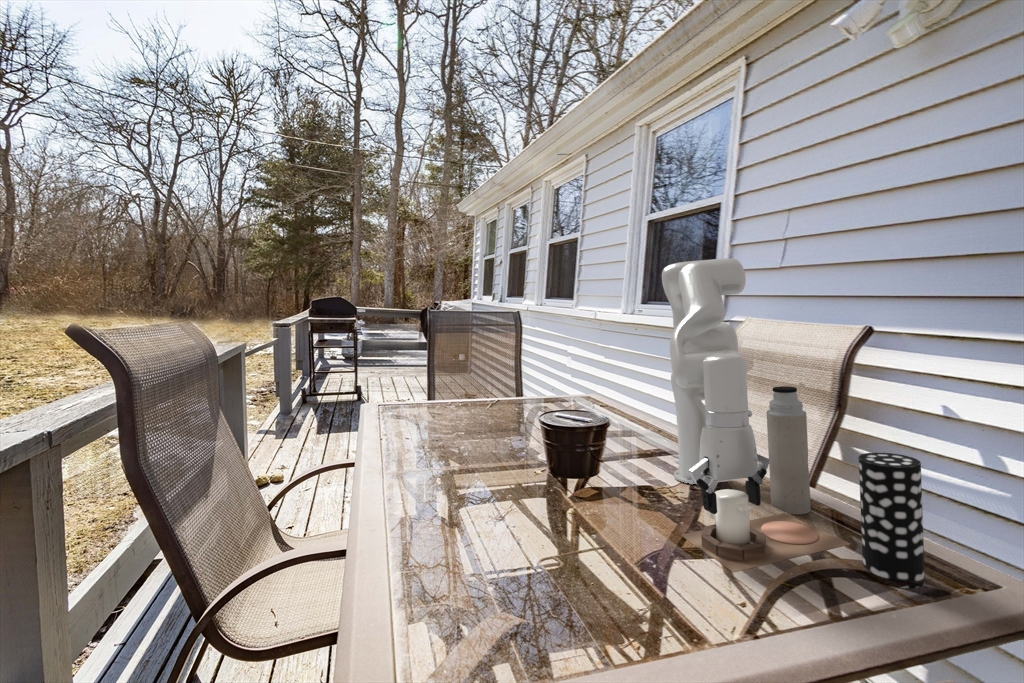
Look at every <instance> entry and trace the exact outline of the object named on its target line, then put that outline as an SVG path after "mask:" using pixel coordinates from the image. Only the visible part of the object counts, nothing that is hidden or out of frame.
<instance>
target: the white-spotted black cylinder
mask: <svg viewBox="0 0 1024 683" xmlns="http://www.w3.org/2000/svg"><path fill="white" fill-rule="evenodd" d="M858 472H859V473H858V479H859V498H860V499H859V500H860V502H859V503H860V522H861V523H860V525H861V530H860V531H861V552H862V553H861V554H862V565H863V567H864V568H865V569H866V570H867V571H868V572H869V573H872V574H874V575H875V576H878V577H881V578H884V579H888V580H891V581H894V582H895V581H897V582H902V583H903V582H904V583H905V582H906V583H911V584H908V585H904V586H900V587H899V589H906V588H907V589H909V588H910V589H911V588H912V589H917V588H918V589H919V588H921V587H923V586H924V585H925V582H926V581H925V580H924V578H925V575H926V574H925V553H924V552H925V548H924V547H925V546H924V520H923V518H924V517H923V494H922V491H923V490H922V489H923V487H922V486H923V485H922V462H921V461H920V460H919V459H918V458H914V457H913V456H912V457H911V456H908V455H904V454H900V453H899V454H898V453H893V452H892V453H891V452H866V453H862V454H859V455H858ZM921 580H922V581H921ZM913 582H915V583H913ZM907 589H906V590H907ZM910 589H909V590H910Z"/></svg>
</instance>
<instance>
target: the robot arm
mask: <svg viewBox="0 0 1024 683" xmlns="http://www.w3.org/2000/svg"><path fill="white" fill-rule="evenodd" d="M746 281H747V279H746V272H745V269H744V267H743V265H742V262H740V261H739V260H738V259H736V258H727V257H726V258H714V259H713V258H711V259H702V260H692V261H691V260H690V261H682V262H681V261H680V262H675V263H671V264H669V265H667V266H665V267H664V268H663V269H662V271H661V284H662V287H663V291H664V294H665V296H666V298H667V300H668V302H669V304H670V307H671V312H672V325H673V332H672V335H671V337H670V340H669V341H670V342H669V355H670V364H671V376H670V383H671V389H672V394H673V397H674V404H675V412H676V413H675V414H676V415H675V416H676V426H677V427H676V428H677V443H678V444H677V445H678V458H675V459H674V462H675V463H676V464H678V469H676V470H675V471H674V472H673V476H675V477H674V479H675V478H676V479H675V480H676V481H678V480H679V481H678V482H680V481H681V483H683V482H684V483H683V484H687V483H689V484H688V485H693V484H696V485H695V486H697V487H698V489H699V490H701V494H702V495H701V496H702V506H703V509H704V510H705V511H706V512H707V511H709V512H710V513H712V514H716V513H717V500H716V493H715V492H714V491H715V489H716V487H717V485H718V484H719V483H721V482H729V481H734V480H740V479H741V480H742V479H746V480H745V483H744V484H745V493H746V494H747V495H748V502H749V504H751V505H752V504H753V505H755V506H758V507H759V506H761V503H762V502H761V486H760V485H762V484H763V482H764V481H763V479H764V478H765V476H766V474H767V472H768V471H767V469H768V468H769V462H770V460H769V457H766V456H764V455H762V454H759V453H758V451H757V444H756V438H755V435H754V430H753V428H752V425H751V424H750V418H751V417H752V416H753V412H752V411H751V409H750V410H749V401H748V400H749V397H748V382H747V373H748V372H747V371H748V368H747V367H748V366H747V362H746V359H745V358H744V357H743V356H742V354H741V353H740V352H739V343H738V337H737V332H736V330H735V328H734V327H733V326H732V325H730V324H728V323H722V322H724V320H725V317H726V309H725V305H724V300H723V296H730V295H739V294H741V293H742V292H743V290H744V289H745V286H746ZM703 401H704V403H703Z"/></svg>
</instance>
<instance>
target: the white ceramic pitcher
mask: <svg viewBox="0 0 1024 683" xmlns="http://www.w3.org/2000/svg"><path fill="white" fill-rule="evenodd" d="M714 493H716V500H717V513H716V514H712V513H710V512H709V511H707V510H706V517H708V518H709V519H712V520H715V524H716V534H717V541H719V542H721V543H725V544H732V545H738V546H742V545H746V544H751V540H750V521H749V520H750V511H752V510H753V505H752V504H751V503H750V502H748V495H747V494H746V492H745V491H741V490H739V489H738V490H737V489H732V488H731V489H729V488H728V489H727V488H726V489H720V490H716V491H715V492H714Z"/></svg>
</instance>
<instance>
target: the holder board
mask: <svg viewBox="0 0 1024 683" xmlns="http://www.w3.org/2000/svg"><path fill="white" fill-rule="evenodd" d="M749 521H750V540H751V544H746V545H742V546H738V545H732V544H725V543H721V542H719V541H717V534H716V523H715V524H709V525H705V526H704V528H703V529H701V530H696V531H691V532H687V533H681V534H680V536H681V537H683V538H684V539H685V540H687V541H688V542H690V543H691V544H693V545H694V546H695V547H697V548H698V549H700V550H701V551H702V552H704V553H705V554H707V555H708V556H710V558H712V559H714V560H715V561H717V562H719V564H721V566H724V567H725V568H727V569H728V570H730V571H731V572H733V573H737V572H742V571H745V570H750V569H753V568H757V567H761V566H766V565H769V564H774V563H779V562H784V561H787V560H791V559H795V558H799V557H802V556H803V557H804V556H809V555H812V554H816V553H821V552H824V551H829V550H833V549H837V548H840V547H846V546H850V545H851V543H850V542H848V541H846V540H845V539H841V538H839V537H837V536H835V535H833V534H830V533H828V532H827V531H824V530H822V529H820V528H818V527H815V526H813V525H812V524H809V523H807V522H805V521H803V520H800V519H798V518H796V517H794V516H792V515H791V514H788V513H786V512H782V513H778V514H773V515H768V516H763V517H757V518H753V519H749Z"/></svg>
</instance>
